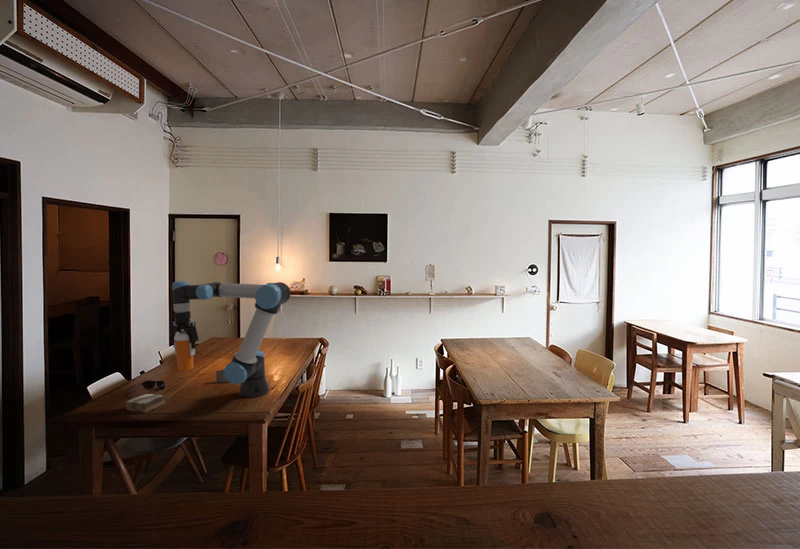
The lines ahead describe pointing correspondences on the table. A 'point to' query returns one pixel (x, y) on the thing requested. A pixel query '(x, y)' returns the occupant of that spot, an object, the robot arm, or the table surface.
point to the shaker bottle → (183, 351)
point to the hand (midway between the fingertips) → (184, 354)
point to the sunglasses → (151, 385)
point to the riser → (145, 402)
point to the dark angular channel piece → (221, 376)
